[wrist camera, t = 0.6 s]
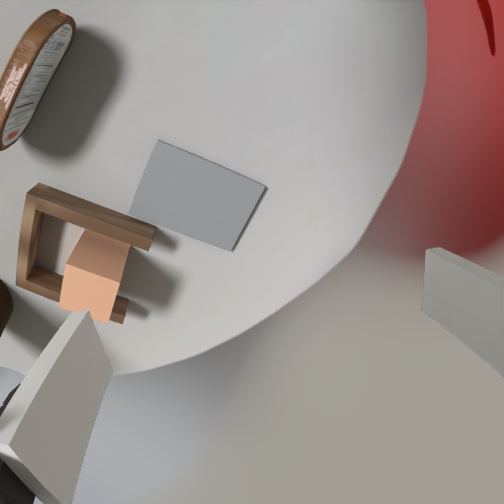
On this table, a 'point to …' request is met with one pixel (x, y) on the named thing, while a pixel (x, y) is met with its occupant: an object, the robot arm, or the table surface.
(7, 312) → the olive oil
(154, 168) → the mat
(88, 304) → the block
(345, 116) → the table surface
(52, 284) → the bay
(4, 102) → the tin
